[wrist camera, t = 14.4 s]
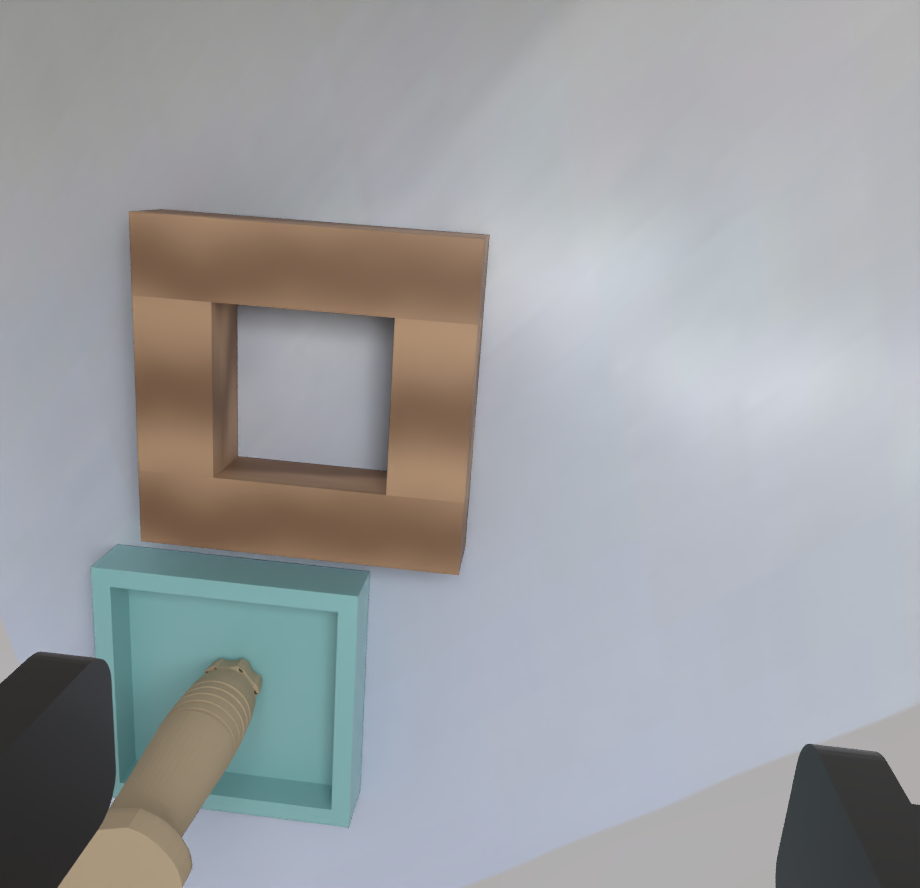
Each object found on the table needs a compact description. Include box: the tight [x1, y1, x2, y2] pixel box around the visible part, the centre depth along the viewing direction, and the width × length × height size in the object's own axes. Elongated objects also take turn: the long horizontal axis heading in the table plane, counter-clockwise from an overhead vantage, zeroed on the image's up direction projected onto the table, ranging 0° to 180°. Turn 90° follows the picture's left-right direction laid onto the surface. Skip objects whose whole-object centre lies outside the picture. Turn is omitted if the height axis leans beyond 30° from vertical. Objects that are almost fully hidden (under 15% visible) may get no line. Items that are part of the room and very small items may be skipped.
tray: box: [90, 545, 370, 827], centre depth 48 cm, size 14×14×3 cm
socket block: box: [129, 209, 489, 575], centre depth 43 cm, size 16×16×4 cm
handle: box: [58, 659, 262, 888], centre depth 42 cm, size 5×6×15 cm
